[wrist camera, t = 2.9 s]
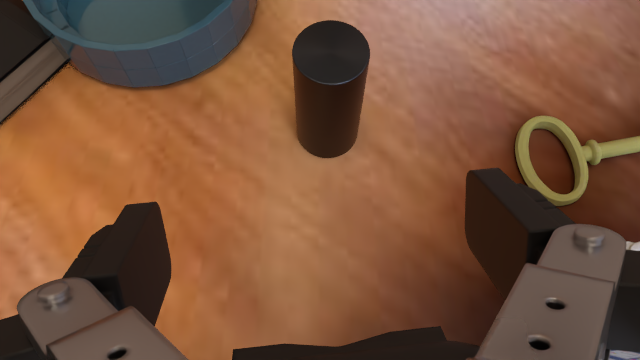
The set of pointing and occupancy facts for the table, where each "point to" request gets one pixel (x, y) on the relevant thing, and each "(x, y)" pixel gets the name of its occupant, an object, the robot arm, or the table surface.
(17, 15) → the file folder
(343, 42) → the black cylinder
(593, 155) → the key
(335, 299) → the table surface
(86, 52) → the bowl
